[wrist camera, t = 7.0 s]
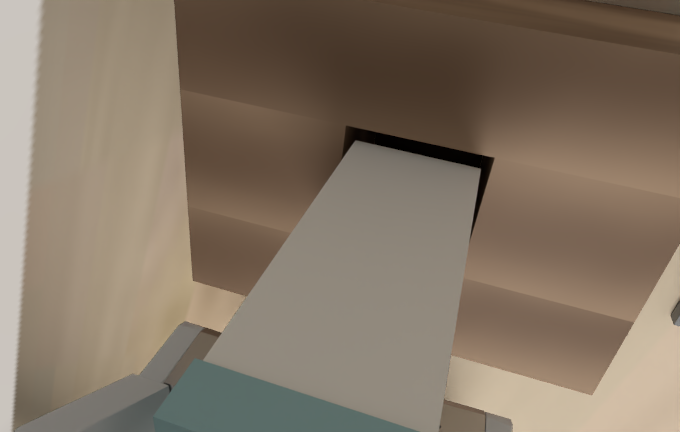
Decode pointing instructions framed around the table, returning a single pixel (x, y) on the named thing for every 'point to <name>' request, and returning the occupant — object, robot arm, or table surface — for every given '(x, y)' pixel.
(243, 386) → the plug
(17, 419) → the table surface
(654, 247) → the block
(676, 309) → the mat
